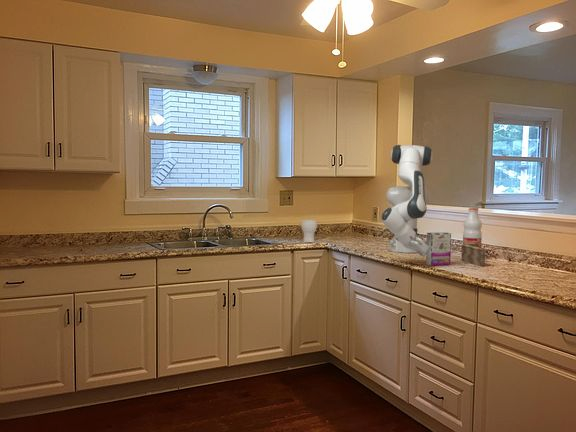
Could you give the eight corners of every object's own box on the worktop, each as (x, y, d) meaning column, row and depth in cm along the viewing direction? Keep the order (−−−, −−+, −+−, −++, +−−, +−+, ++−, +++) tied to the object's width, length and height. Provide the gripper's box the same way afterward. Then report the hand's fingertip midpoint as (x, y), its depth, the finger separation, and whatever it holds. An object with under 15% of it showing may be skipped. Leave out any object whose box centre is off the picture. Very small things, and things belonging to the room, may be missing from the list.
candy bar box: (444, 263, 249) (445, 231, 248) (450, 265, 244) (451, 232, 243) (425, 264, 246) (426, 232, 245) (431, 266, 241) (432, 233, 240)
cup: (302, 243, 325) (302, 220, 324) (299, 241, 336) (300, 219, 335) (317, 243, 327) (318, 220, 326) (315, 241, 337) (315, 219, 336)
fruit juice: (472, 257, 271) (474, 207, 269) (484, 260, 262) (486, 208, 260) (458, 258, 267) (460, 207, 265) (470, 261, 259) (472, 208, 257)
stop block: (460, 260, 259) (461, 244, 258) (464, 260, 259) (464, 244, 259) (480, 266, 241) (481, 248, 241) (484, 266, 242) (485, 248, 241)
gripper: (420, 233, 230) (438, 253, 233) (401, 229, 250) (418, 247, 253) (411, 242, 230) (430, 262, 233) (393, 237, 250) (410, 256, 252)
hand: (423, 254), depth 243 cm, fingers closed
